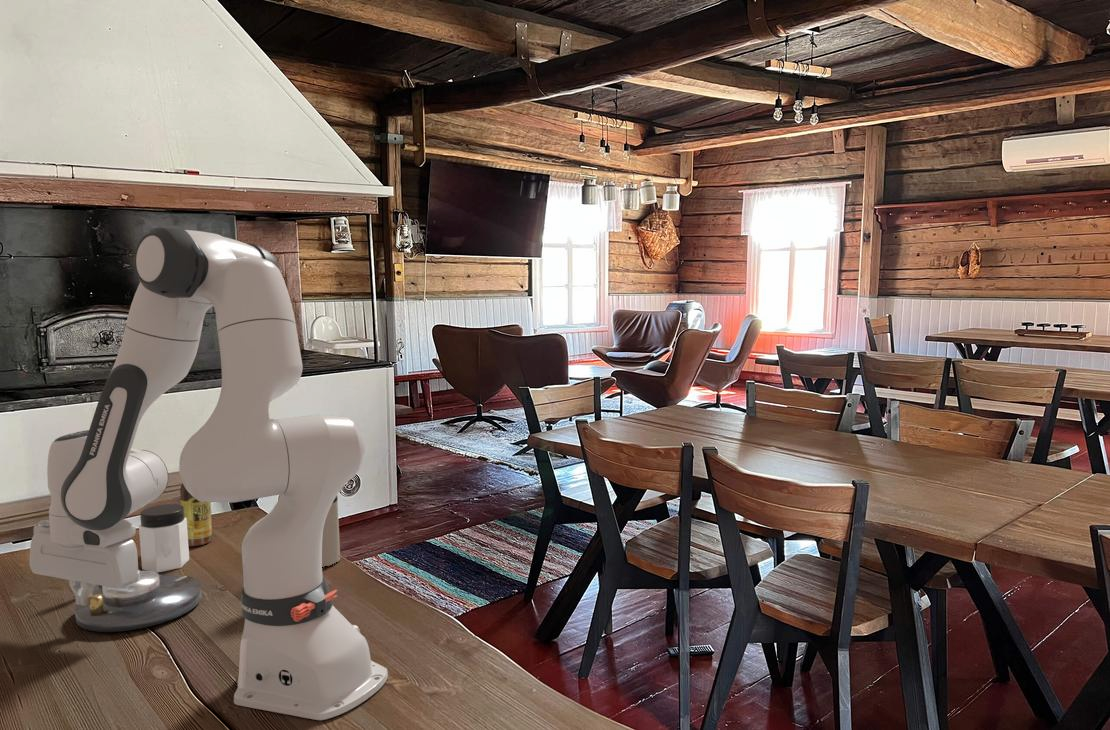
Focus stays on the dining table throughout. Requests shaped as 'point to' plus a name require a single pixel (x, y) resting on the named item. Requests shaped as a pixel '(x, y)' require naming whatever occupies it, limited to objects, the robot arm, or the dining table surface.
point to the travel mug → (331, 536)
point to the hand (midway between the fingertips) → (84, 603)
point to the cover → (133, 590)
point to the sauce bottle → (196, 518)
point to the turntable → (141, 607)
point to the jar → (163, 538)
